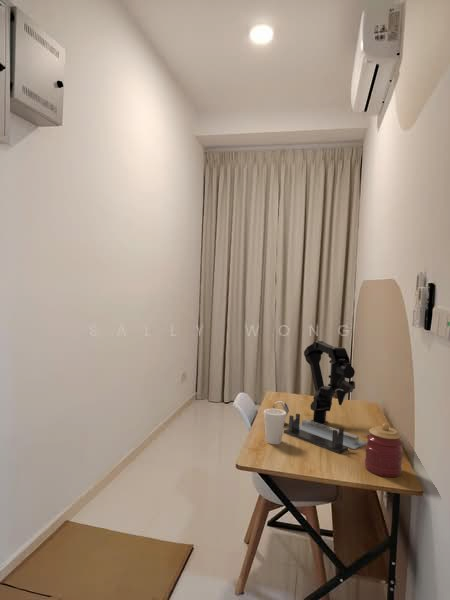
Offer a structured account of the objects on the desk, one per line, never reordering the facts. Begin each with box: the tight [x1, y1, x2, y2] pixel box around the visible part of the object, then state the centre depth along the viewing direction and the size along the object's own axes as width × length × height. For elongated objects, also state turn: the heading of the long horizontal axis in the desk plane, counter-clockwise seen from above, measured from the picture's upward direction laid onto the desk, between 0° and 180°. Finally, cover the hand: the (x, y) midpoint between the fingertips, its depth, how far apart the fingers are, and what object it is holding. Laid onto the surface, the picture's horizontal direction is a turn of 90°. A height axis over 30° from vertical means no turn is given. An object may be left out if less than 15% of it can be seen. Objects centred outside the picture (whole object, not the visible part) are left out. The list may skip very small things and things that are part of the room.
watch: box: [272, 400, 290, 424], centre depth 199 cm, size 6×8×11 cm
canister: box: [364, 422, 404, 478], centre depth 151 cm, size 13×13×18 cm
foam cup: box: [263, 408, 287, 445], centre depth 175 cm, size 10×9×13 cm
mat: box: [299, 424, 367, 451], centre depth 185 cm, size 11×32×1 cm, turn 42°
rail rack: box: [283, 413, 349, 455], centre depth 178 cm, size 7×29×8 cm, turn 42°
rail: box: [301, 418, 360, 445], centre depth 185 cm, size 3×28×3 cm, turn 42°
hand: (334, 406), depth 191 cm, fingers open, 9 cm apart
